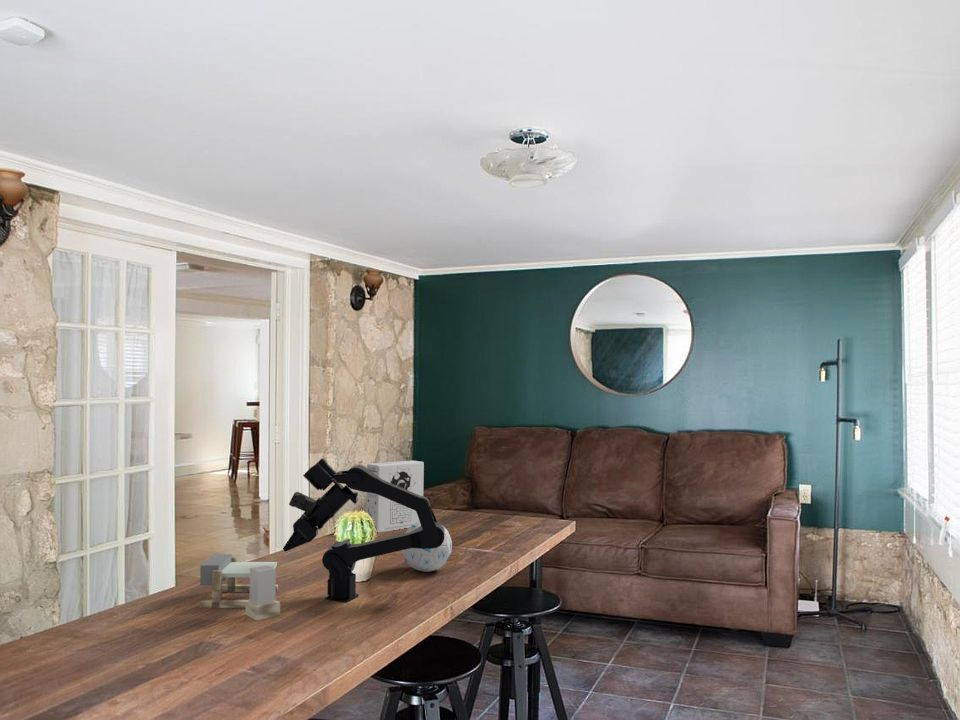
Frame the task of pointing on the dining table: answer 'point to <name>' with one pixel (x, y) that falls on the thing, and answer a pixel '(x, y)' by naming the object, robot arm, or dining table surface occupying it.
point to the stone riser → (262, 610)
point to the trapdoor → (227, 568)
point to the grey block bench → (219, 588)
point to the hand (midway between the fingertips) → (287, 546)
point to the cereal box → (387, 510)
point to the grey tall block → (262, 585)
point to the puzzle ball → (428, 554)
